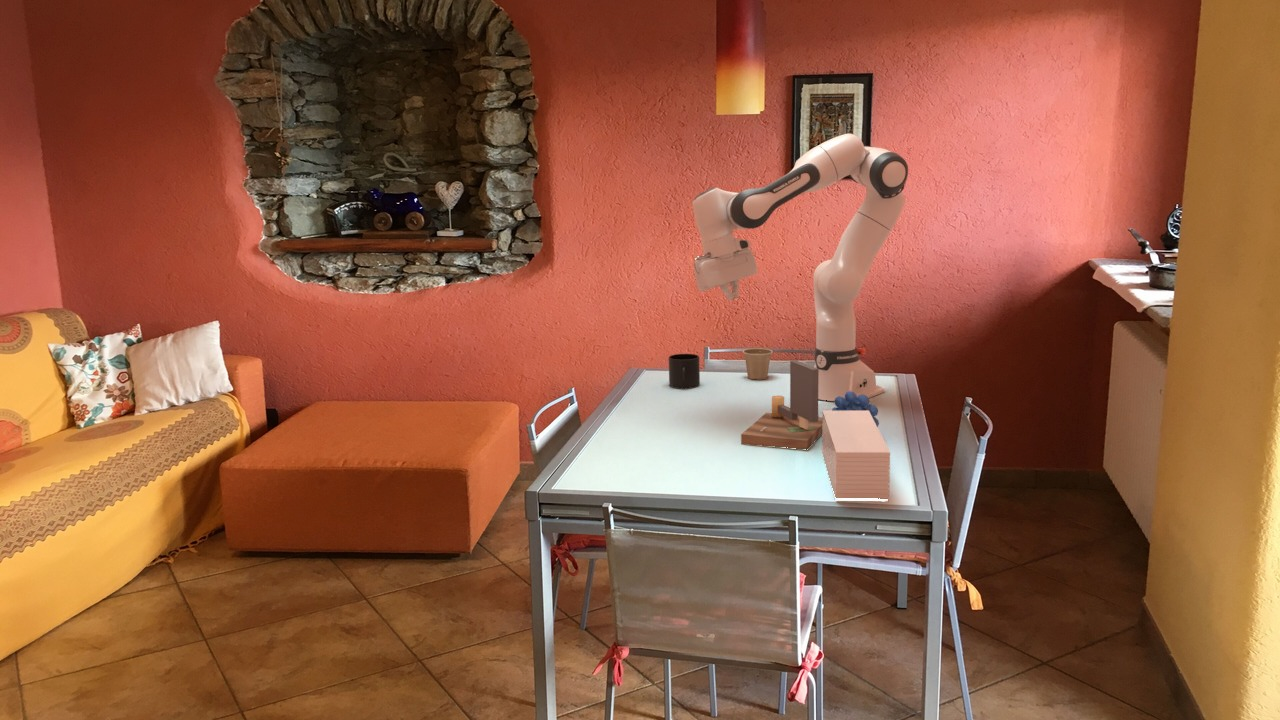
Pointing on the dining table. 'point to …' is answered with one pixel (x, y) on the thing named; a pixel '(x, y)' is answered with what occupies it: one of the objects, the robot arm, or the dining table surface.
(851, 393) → the grapes
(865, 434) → the stack of papers
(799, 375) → the paddle
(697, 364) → the mug
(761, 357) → the flower pot
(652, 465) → the dining table surface
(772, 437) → the wooden cutting board
